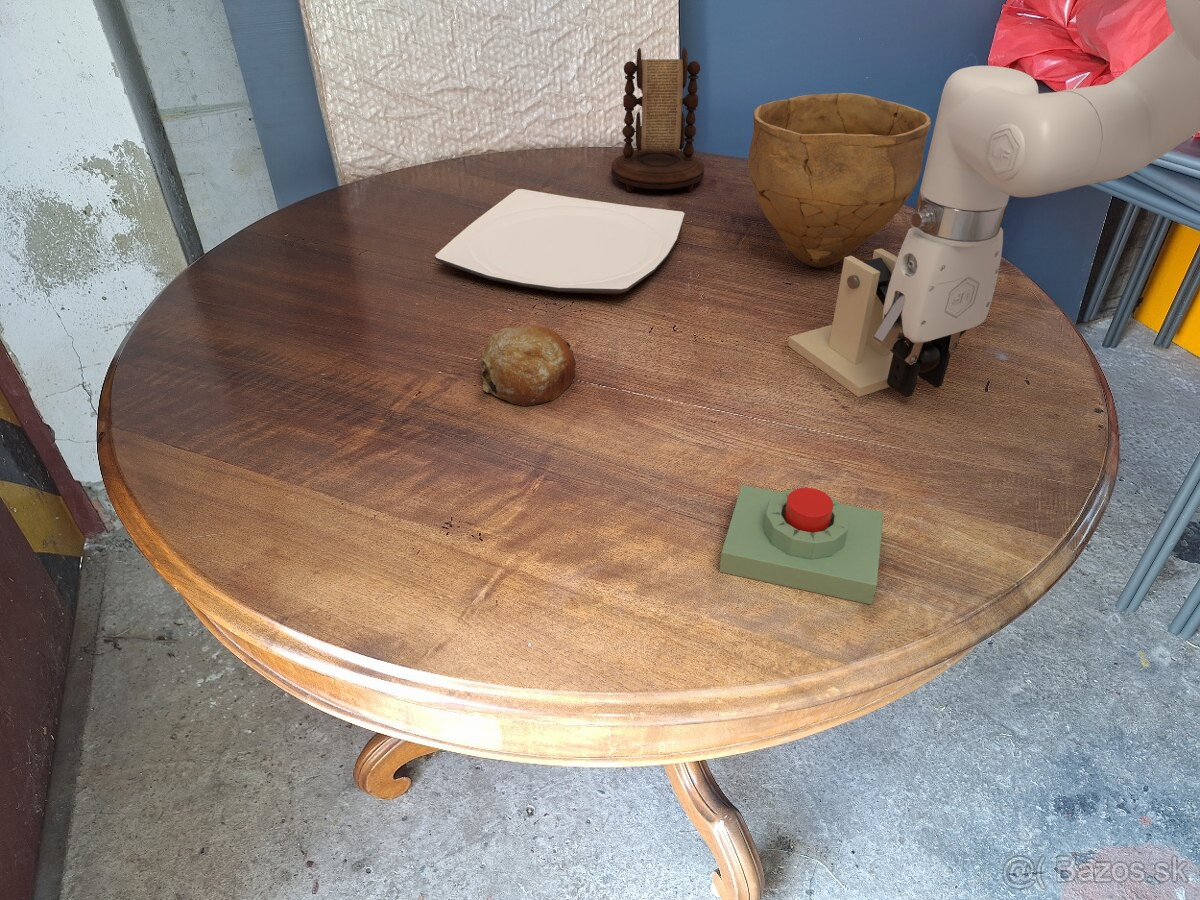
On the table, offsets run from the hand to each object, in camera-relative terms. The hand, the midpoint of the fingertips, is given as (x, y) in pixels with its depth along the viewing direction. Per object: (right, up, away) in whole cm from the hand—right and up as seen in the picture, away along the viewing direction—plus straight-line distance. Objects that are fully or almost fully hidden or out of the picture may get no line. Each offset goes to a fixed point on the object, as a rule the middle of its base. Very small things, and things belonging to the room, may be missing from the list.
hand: (914, 384), depth 92 cm
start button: (-16, -12, -20) cm, 28 cm away
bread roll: (-40, +1, +3) cm, 40 cm away
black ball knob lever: (-2, +6, +1) cm, 7 cm away
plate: (-37, +20, +30) cm, 51 cm away
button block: (-16, -15, -18) cm, 28 cm away
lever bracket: (-4, +3, +7) cm, 9 cm away
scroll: (-23, +36, +51) cm, 67 cm away
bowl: (-4, +17, +26) cm, 32 cm away
